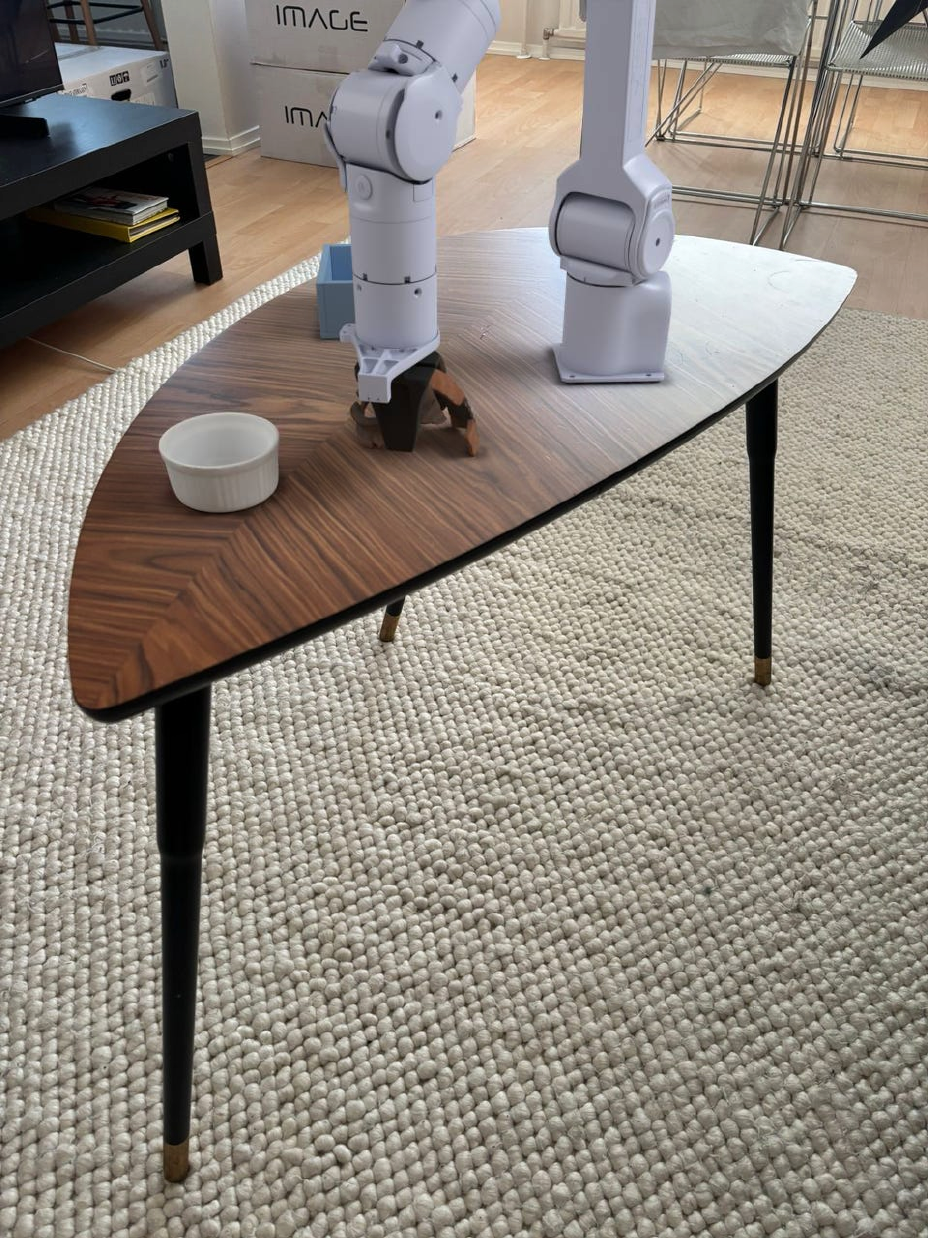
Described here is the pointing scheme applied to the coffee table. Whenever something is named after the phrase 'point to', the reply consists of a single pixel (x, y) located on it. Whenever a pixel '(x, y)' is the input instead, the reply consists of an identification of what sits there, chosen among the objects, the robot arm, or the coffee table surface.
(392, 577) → the coffee table surface
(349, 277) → the bin
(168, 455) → the ramekin
